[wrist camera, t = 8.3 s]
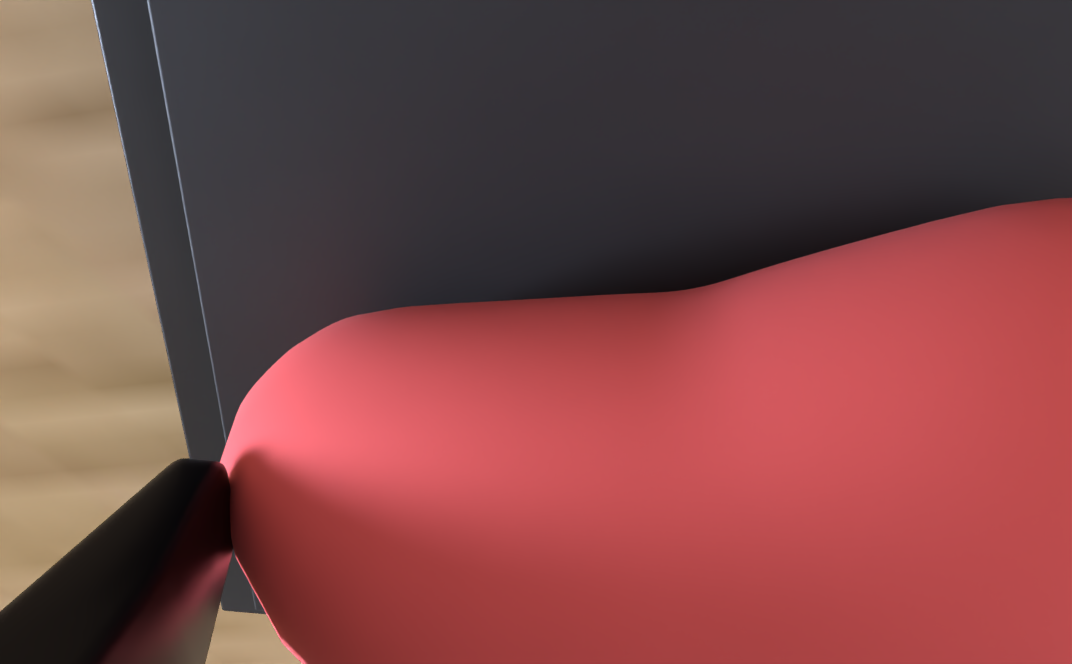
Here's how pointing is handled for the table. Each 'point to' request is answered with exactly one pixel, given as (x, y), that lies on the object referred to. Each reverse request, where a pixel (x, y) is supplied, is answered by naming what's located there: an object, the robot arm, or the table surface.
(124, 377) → the table surface
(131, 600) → the robot arm
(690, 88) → the black case
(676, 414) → the stress ball
